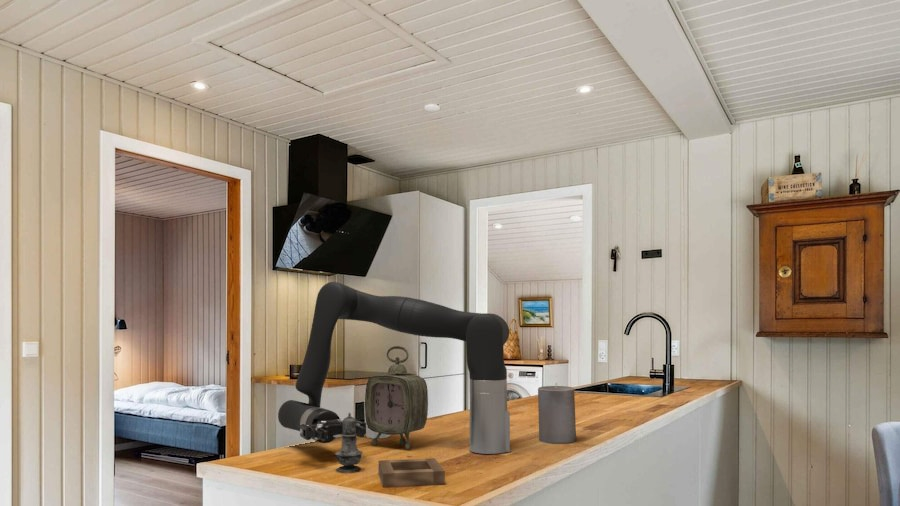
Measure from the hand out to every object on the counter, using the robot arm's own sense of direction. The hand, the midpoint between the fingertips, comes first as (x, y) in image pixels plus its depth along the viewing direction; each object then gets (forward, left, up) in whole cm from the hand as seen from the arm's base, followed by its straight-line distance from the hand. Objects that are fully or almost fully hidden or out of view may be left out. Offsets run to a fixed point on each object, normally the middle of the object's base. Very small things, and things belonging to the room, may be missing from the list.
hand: (344, 434), depth 143 cm
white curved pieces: (-10, -36, -7) cm, 38 cm away
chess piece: (-1, +3, -7) cm, 8 cm away
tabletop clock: (-14, -22, -7) cm, 27 cm away
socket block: (-13, +13, -7) cm, 19 cm away
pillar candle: (-56, -21, -7) cm, 60 cm away
